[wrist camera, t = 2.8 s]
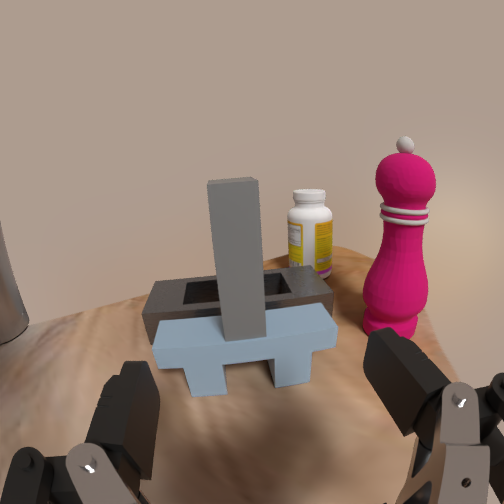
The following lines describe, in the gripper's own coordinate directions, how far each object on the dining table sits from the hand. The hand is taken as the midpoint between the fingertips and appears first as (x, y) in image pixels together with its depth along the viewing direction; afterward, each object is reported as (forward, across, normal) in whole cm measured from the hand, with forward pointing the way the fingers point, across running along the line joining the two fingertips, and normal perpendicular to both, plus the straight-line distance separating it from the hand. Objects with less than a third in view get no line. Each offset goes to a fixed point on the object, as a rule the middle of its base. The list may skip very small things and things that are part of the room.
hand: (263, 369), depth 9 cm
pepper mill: (+14, -16, +11) cm, 24 cm away
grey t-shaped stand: (+11, 0, +11) cm, 16 cm away
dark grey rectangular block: (+21, 0, +11) cm, 24 cm away
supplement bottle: (+31, -12, +11) cm, 35 cm away
